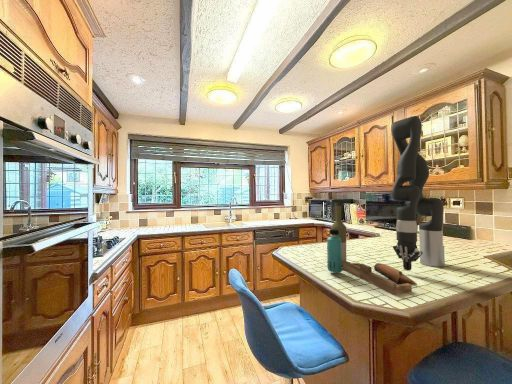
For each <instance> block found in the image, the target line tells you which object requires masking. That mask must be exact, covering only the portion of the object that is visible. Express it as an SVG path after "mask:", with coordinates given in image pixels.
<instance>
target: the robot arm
mask: <svg viewBox="0 0 512 384" xmlns="http://www.w3.org/2000/svg"><path fill="white" fill-rule="evenodd" d="M422 127H423V124H422V121H421V119H420V117H419V116H416V115H414V116H413V115H412V116H409V117H406V118H403V119H400V120H396V121H394V122H393V123H392V124H391V128H390V130H391V135H392V137H393V140H394V143H395V145H396V147H397V150H398V153H399V155H400V157H399V159H398V161H397V165H396V179H395V183H394V185H393V187H392V190H391V198H392V199H393V200H394V201H396V202H409V204H408V205H405V206H398V207H397V208H396V224H395V225H396V227H395V229H396V240H397V242H396V245H393V246H392V249H393V251H394V253H396V256H397V257H398V259H401V261H402V268H403V270H405V271H411V270H412V263H414V262H417V261H418V260H419V263H420V264H422V265H424V266H429V267H434V268H435V267H436V268H439V267H444V266H445V265H446V261H445V258H446V257H445V245H444V237H443V236H444V235H443V233H444V232H443V226H444V203H443V200H442V199H441V198H438V197H435V198H434V197H424V194H423V189H424V187H425V185H426V183H427V182H428V179H429V176H430V171H429V170H430V169H429V166H428V162H427V160H426V159H425V158H424V157H423V156H422V155H420V153H419V147H420V142H421V138H422V131H423V128H422ZM407 139H409V141H407ZM405 183H408V185H404V184H405ZM417 215H418V216H422V217H430V219H429V220H427V221H426V222H422V223H419V225H418V224H417ZM418 236H419V237H418ZM418 238H419V239H418ZM418 240H419V249H418V245H417V242H418Z"/></svg>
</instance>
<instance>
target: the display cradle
mask: <svg viewBox="0 0 512 384" xmlns="http://www.w3.org/2000/svg"><path fill="white" fill-rule="evenodd" d="M343 270H344V271H345V272H347V273H349V274H351V275H353V276H355V277H357V278H359V279H361V280H363V281H365V282H367V283H369V284H370V285H373V286H375V287H377V288H379V289H381V290H383V291H385V292H387V293H389V294H391V295H392V296H394V295H395V296H396V295H398V294H406V293H412V290H413V288H412V286H413V285H411V284H408V283H406V284H398V283H396V282H395V281H393V280H392V279H388V278H386V277H384V276H381V275H378V274H377V273H374V272H373V271H372V266H370V265H368V264H365V263H360V262H349V261H347V260H346V261H343V268H342V271H343Z"/></svg>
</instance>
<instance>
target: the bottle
mask: <svg viewBox="0 0 512 384" xmlns="http://www.w3.org/2000/svg"><path fill="white" fill-rule="evenodd" d="M334 210H335V221H334V223H332V224H331V226H330V229H337V230H339V234H338V235H332V234H330V236H337V237H339V238H341V240H342V241H341V247H342V269H343V261H347V225H345V223H344V222H343V221H342V206H341V205H335V209H334Z"/></svg>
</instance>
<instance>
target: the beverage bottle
mask: <svg viewBox="0 0 512 384" xmlns="http://www.w3.org/2000/svg"><path fill="white" fill-rule="evenodd" d="M328 233H329V234H328V235H330V236H327V238H326V241H327V242H326V245H327V246H326V249H327V250H326V252H327V253H326V254H327V255H326V257H327V263H326V267H327V270H328V271H329V272H331V273H337V274H338V273H342V271H343V268H342V247H341V241H342V240H341V238H339V237H337V236H332V235H338V234H339V230H337V229H331V228H330V229H329V232H328ZM331 234H332V235H331Z"/></svg>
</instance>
